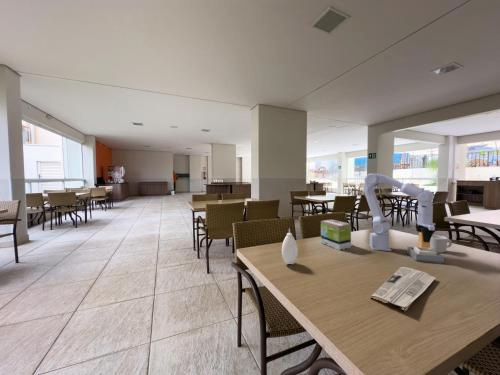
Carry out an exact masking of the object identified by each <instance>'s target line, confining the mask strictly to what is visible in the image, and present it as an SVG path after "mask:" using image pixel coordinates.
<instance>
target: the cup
mask: <svg viewBox="0 0 500 375" xmlns="http://www.w3.org/2000/svg"><path fill="white" fill-rule="evenodd" d="M452 246H453V241H452V240H451V238H448V237H446V236H444V235H437V234H433V235H432V237H431V240H430V248H431V249H434V250H435V251H437V252H438V253H440V254H441V253H442V254H443V253H446V251H447V248H450V247H452Z"/></svg>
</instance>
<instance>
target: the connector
mask: <svg viewBox="0 0 500 375" xmlns="http://www.w3.org/2000/svg"><path fill="white" fill-rule="evenodd" d="M418 247H425V248H430V242H429V243H428V242H424V241H423V235H422V232H419V233H418Z"/></svg>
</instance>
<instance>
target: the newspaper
mask: <svg viewBox="0 0 500 375" xmlns="http://www.w3.org/2000/svg"><path fill="white" fill-rule="evenodd" d="M436 278H437V277H434V276H433V275H430V274H429V273H427V272H426V271H422V270H418V269H415V268H411V267H406V266H405V267H404V266H400V267H399V268H398V269H397V270H396V271H395V272H394V273H393V274H392V275H391V276H390V277H388V279H387V280H386V281H385V282H384V283H383V284H382V285H380V286H379V288H378V289H377V290H375V291H374V292H373V293H372V295H370V297H374V296H376V297H379V298H382V299H384V300H386V301H389V303H391V304H393V305H395V306H397V307H398V306H399V307H400V308H401V307H404V310H405V309H406V310H405V311H404V312H407V311H408V309H409V308H410V306H411V305H412V304H413V303H414V301H415V300H416V299H417V298H419V296H421V295H422V294H423V293H424V292H425V291H426V290H427V289H428V287H429V286H430V285H431V284H432V283H433V282H434V281H435V279H436Z"/></svg>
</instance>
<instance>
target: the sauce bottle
mask: <svg viewBox="0 0 500 375" xmlns="http://www.w3.org/2000/svg"><path fill="white" fill-rule="evenodd" d="M298 254H299V249H298V244H297V241H296V239H295V237H294V236H293V233H291V229H290V228H288V232H287V233H286V236H285V238H284V239H283V242H282V245H281V256H282V260H283V262H284V263H285V264H286V265H288V264H292V265H294V264H295V263H296V262H297V260H298V256H299V255H298Z"/></svg>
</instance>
